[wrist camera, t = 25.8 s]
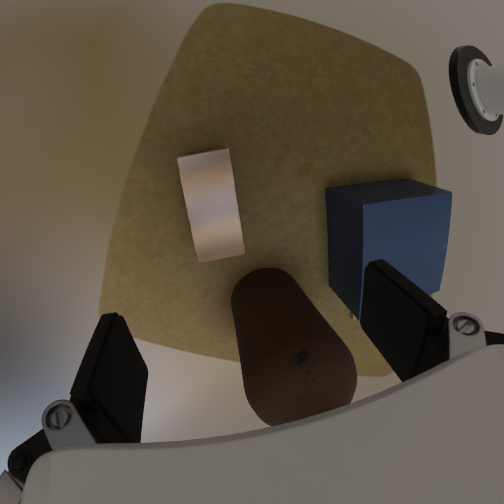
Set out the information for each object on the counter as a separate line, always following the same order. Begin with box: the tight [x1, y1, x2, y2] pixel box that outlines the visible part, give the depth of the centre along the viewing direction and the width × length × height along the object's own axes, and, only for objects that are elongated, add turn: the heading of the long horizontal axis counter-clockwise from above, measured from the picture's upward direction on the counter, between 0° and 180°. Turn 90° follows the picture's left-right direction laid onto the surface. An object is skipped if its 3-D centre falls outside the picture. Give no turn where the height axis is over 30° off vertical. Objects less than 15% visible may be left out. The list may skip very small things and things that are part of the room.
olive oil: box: [231, 268, 357, 426], centre depth 27 cm, size 11×11×25 cm
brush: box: [177, 148, 246, 264], centre depth 29 cm, size 11×5×5 cm, turn 8°
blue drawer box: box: [326, 179, 452, 320], centre depth 33 cm, size 15×14×9 cm
